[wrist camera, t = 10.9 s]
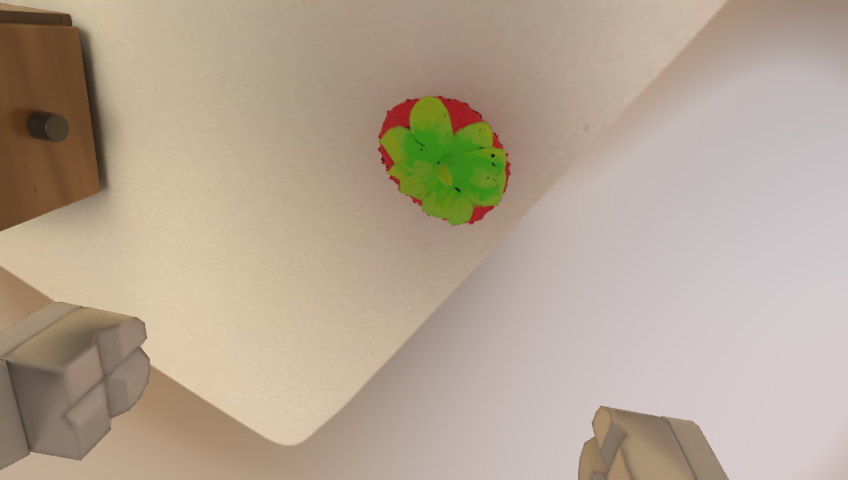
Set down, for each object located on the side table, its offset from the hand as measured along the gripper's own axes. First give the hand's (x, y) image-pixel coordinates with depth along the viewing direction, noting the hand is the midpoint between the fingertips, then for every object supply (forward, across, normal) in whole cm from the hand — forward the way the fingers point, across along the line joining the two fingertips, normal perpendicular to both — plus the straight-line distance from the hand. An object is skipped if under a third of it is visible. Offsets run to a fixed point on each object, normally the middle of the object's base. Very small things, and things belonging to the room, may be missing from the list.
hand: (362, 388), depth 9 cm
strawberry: (+23, 0, 0) cm, 23 cm away
